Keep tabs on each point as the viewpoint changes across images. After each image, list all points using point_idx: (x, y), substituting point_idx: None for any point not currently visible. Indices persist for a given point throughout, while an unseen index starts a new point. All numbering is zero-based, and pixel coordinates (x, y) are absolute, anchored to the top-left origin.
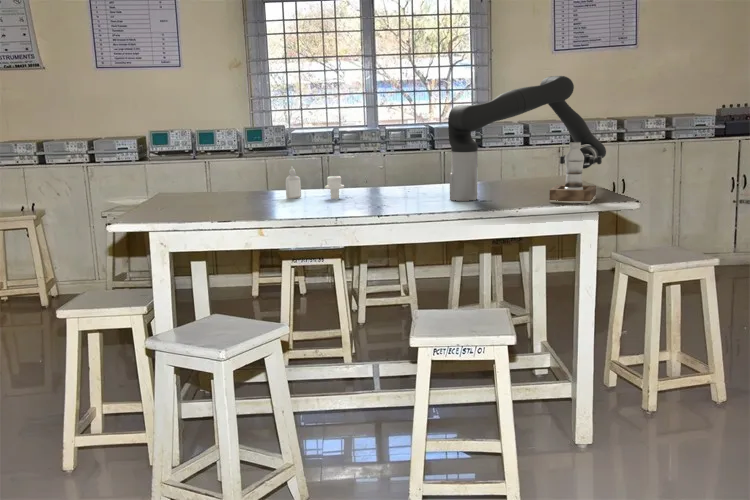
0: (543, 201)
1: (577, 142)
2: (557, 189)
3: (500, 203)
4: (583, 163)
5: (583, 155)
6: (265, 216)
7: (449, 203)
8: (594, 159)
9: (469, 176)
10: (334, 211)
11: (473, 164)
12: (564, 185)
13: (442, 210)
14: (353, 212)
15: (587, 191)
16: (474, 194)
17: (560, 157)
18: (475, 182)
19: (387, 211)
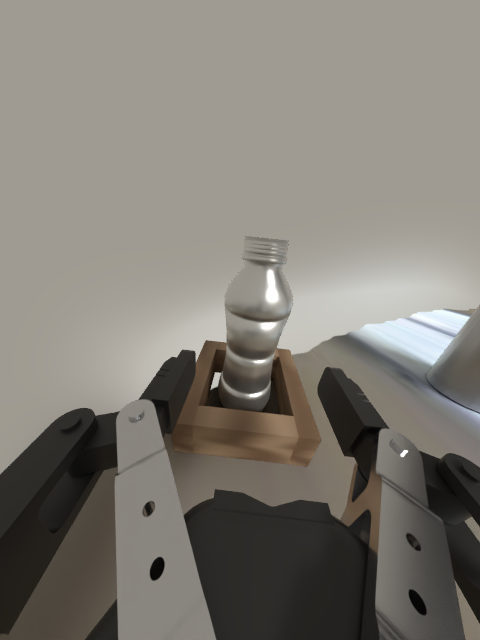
0: (303, 385)
1: (260, 239)
2: (275, 352)
3: (358, 362)
4: (225, 312)
5: (228, 286)
6: (453, 311)
7: (424, 358)
8: (153, 378)
9: (456, 335)
10: (447, 322)
11: (476, 315)
12: (285, 419)
13: (370, 325)
14: (427, 319)
15: (211, 342)
16: (434, 372)
17: (466, 464)
18: (452, 354)
19: (409, 322)
